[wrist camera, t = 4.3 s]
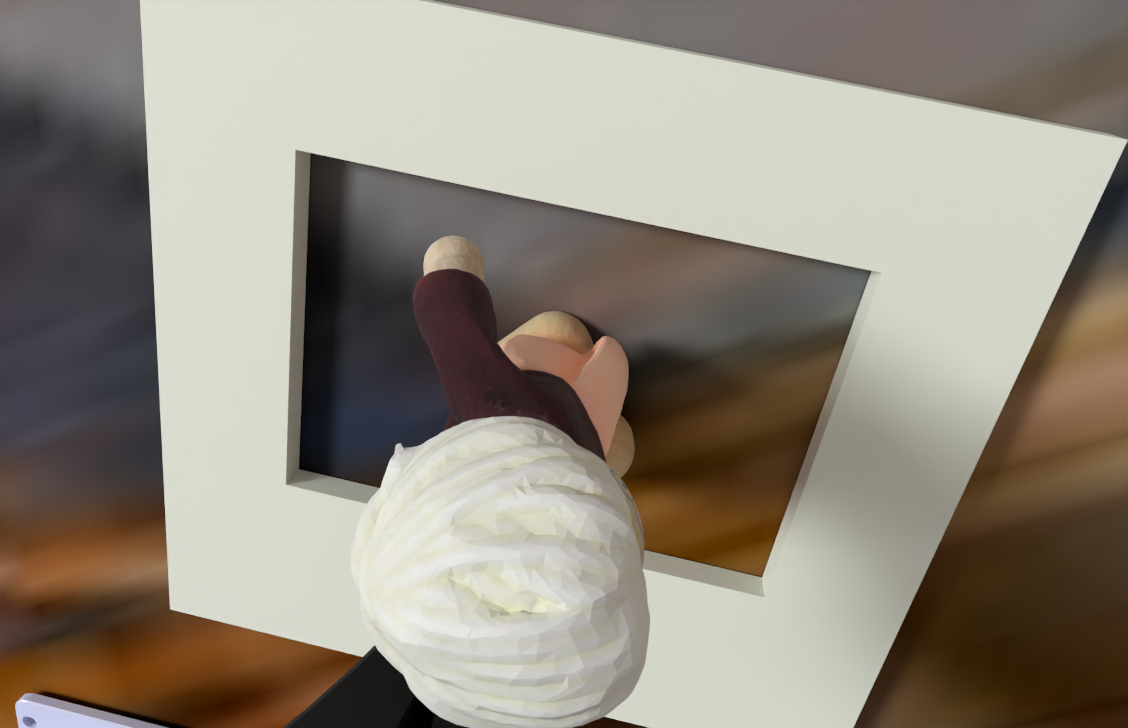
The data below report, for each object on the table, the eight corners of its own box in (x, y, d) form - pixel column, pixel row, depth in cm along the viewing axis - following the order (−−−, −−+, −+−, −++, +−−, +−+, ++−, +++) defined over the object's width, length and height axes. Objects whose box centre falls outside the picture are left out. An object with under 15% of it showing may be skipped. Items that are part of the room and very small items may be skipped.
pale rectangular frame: (828, 749, 24) (832, 773, 23) (185, 591, 25) (169, 609, 24) (1108, 133, 16) (1127, 139, 15) (160, -54, 17) (136, -56, 17)
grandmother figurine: (701, 472, 20) (912, 863, 7) (569, 551, 20) (559, 1050, 8) (533, 204, 19) (452, 138, 7) (398, 291, 19) (76, 388, 7)
